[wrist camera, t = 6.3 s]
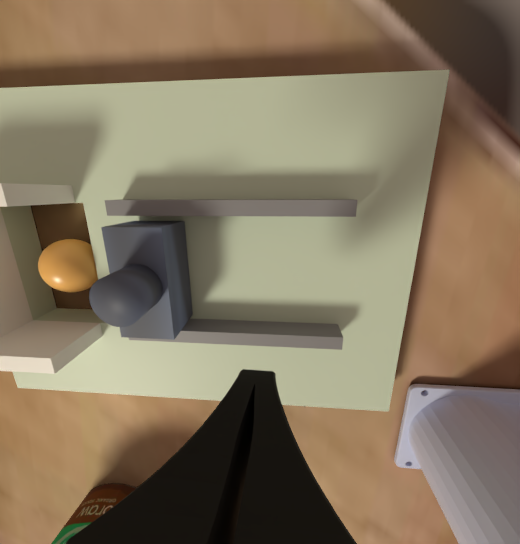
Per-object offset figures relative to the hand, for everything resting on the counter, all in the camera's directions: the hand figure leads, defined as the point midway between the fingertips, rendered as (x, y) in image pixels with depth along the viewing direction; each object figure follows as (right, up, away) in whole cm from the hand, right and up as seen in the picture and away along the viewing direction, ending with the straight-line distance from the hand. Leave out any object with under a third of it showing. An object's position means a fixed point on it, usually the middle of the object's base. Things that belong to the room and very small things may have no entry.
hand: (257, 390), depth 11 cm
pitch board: (-5, +6, +8) cm, 11 cm away
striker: (-6, +5, +6) cm, 9 cm away
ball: (-12, +5, +7) cm, 15 cm away
